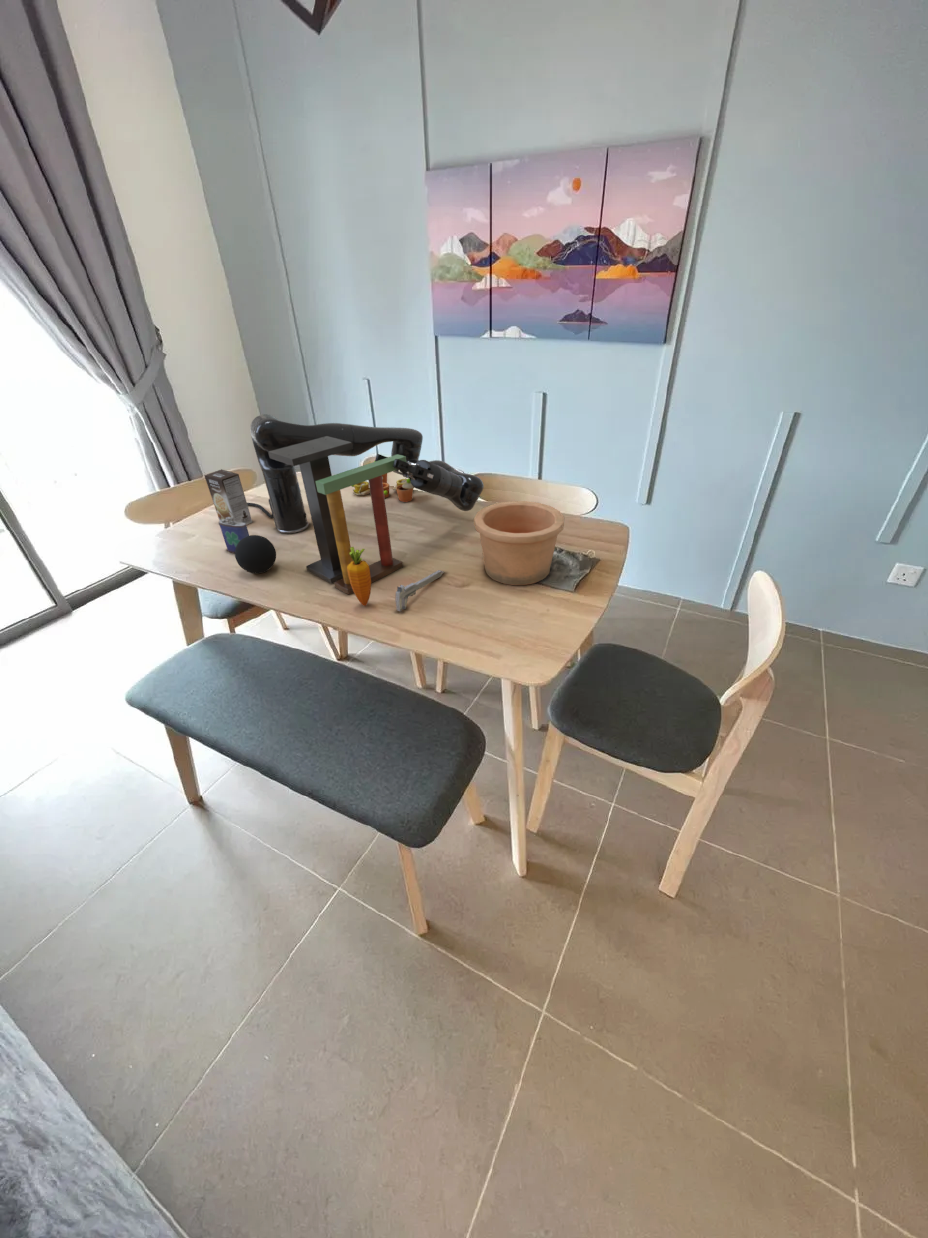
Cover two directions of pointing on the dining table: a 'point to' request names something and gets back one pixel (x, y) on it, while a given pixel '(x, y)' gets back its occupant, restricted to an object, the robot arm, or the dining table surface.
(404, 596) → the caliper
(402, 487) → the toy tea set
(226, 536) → the blue clover container
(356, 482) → the bar
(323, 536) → the stand
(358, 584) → the carrot
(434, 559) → the dining table surface
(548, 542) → the pottery
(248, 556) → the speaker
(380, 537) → the rod rack
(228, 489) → the coffee box
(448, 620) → the dining table surface
